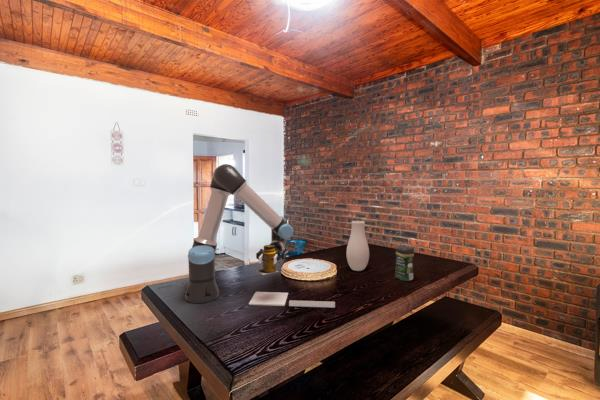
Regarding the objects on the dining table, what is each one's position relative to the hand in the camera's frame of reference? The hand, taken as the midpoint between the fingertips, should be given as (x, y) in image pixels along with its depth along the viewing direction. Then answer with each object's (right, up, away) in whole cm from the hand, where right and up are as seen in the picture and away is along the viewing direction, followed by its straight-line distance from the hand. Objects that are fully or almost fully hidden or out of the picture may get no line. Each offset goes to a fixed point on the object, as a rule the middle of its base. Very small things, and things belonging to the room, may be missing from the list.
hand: (267, 260), depth 132 cm
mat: (0, -19, +6) cm, 20 cm away
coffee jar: (+73, -17, +35) cm, 83 cm away
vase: (+50, -16, +51) cm, 74 cm away
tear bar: (+20, -20, -1) cm, 28 cm away
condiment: (0, -6, +6) cm, 8 cm away
